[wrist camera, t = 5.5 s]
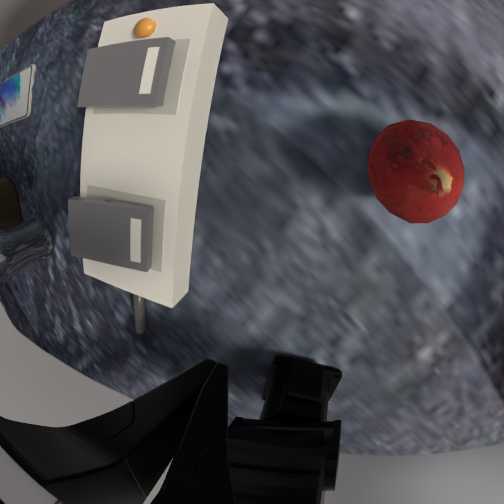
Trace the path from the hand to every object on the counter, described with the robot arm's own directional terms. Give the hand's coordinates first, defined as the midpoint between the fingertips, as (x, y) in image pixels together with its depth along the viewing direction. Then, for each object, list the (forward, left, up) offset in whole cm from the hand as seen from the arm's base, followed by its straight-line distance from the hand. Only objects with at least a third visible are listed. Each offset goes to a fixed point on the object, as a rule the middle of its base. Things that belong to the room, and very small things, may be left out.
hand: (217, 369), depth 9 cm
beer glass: (-6, +29, -13) cm, 32 cm away
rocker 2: (0, +12, -8) cm, 15 cm away
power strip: (+2, +12, -13) cm, 18 cm away
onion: (+8, -7, -13) cm, 17 cm away
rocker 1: (+11, +12, -8) cm, 18 cm away
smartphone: (+12, +40, -14) cm, 44 cm away
